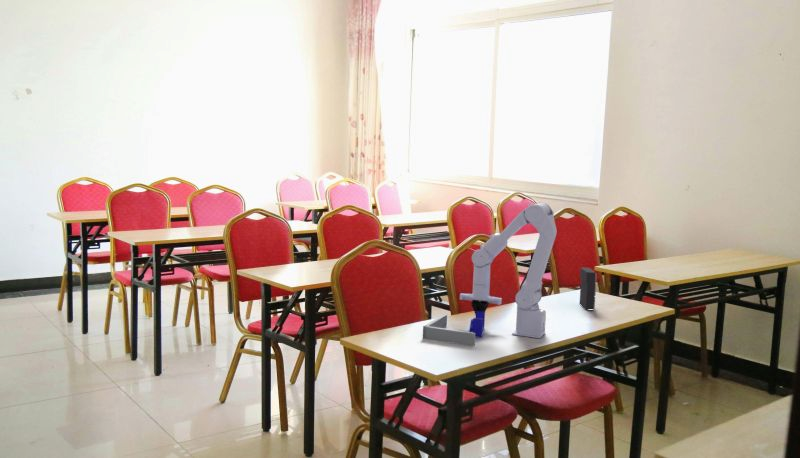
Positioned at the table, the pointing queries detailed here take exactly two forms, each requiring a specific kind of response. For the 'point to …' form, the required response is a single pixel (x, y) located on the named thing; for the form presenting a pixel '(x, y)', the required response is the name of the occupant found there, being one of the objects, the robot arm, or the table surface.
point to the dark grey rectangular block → (587, 288)
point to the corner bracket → (447, 333)
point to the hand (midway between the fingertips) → (479, 322)
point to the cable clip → (478, 324)
